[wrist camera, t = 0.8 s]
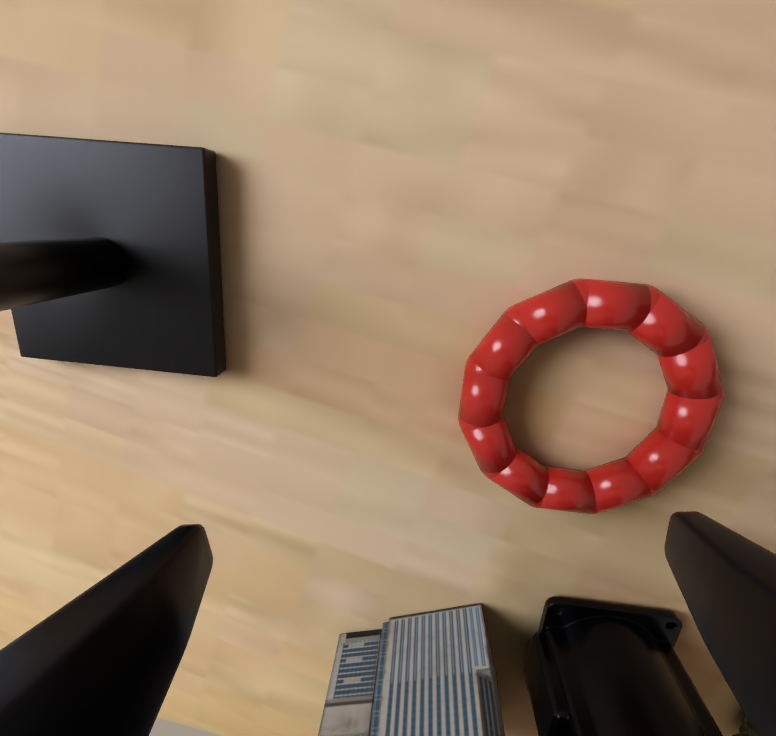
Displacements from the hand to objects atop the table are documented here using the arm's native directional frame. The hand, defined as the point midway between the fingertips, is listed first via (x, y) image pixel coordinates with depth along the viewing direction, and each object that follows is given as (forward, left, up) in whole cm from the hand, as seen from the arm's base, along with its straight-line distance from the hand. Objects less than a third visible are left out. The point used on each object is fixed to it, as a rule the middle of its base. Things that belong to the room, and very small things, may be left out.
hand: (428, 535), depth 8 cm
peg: (+14, -3, -11) cm, 18 cm away
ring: (-6, +1, -10) cm, 12 cm away
